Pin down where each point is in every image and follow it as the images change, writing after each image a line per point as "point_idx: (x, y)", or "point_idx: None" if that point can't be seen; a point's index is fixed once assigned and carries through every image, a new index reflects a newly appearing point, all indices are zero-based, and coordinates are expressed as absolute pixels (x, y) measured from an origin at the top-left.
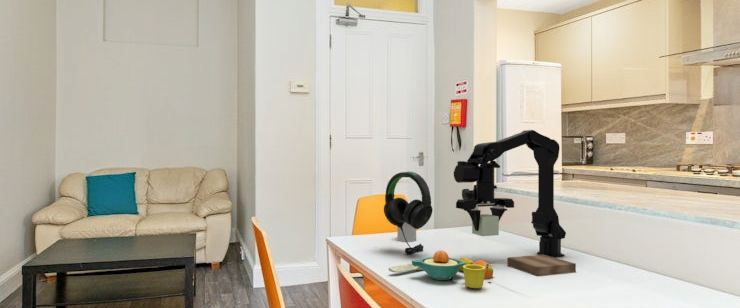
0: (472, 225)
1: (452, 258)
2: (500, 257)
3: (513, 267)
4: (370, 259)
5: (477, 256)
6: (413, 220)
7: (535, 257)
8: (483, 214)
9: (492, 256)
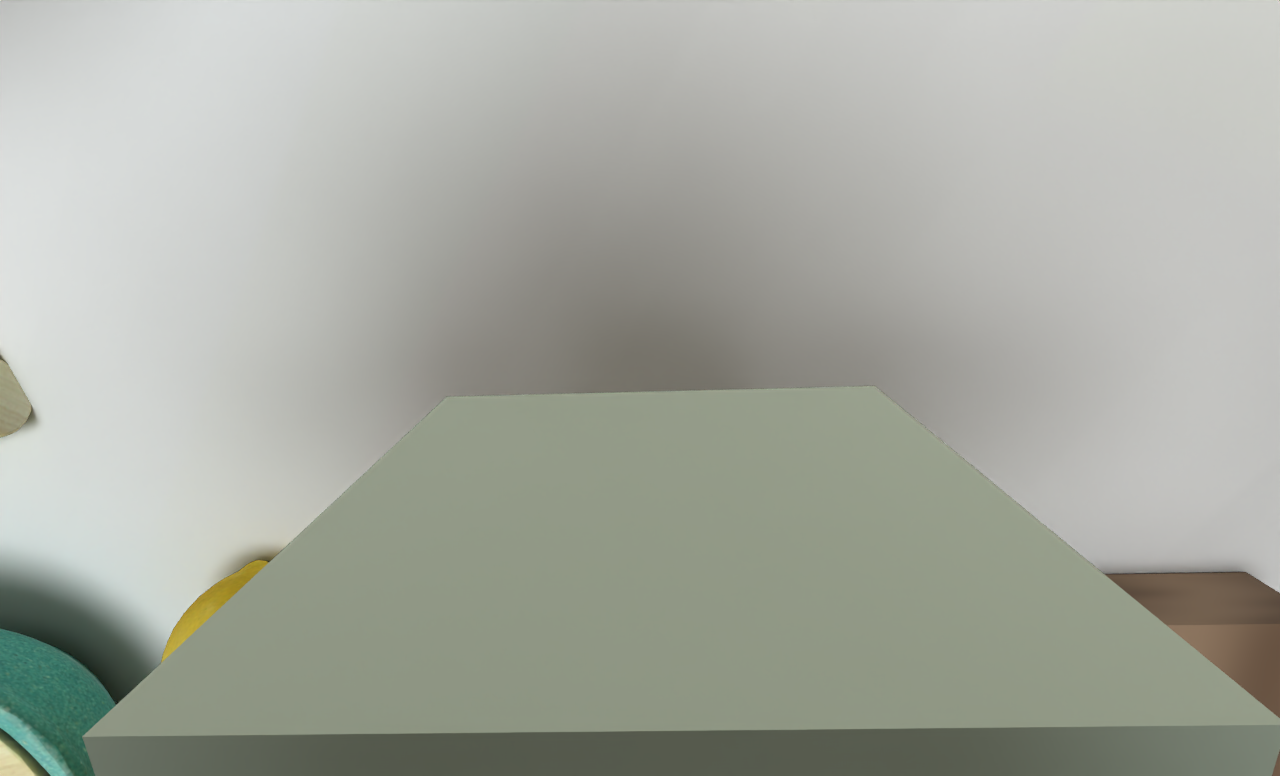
0: (371, 487)
1: (40, 759)
2: (1010, 210)
3: None
4: None
5: (771, 48)
6: None
7: None
8: (927, 742)
9: (958, 118)
